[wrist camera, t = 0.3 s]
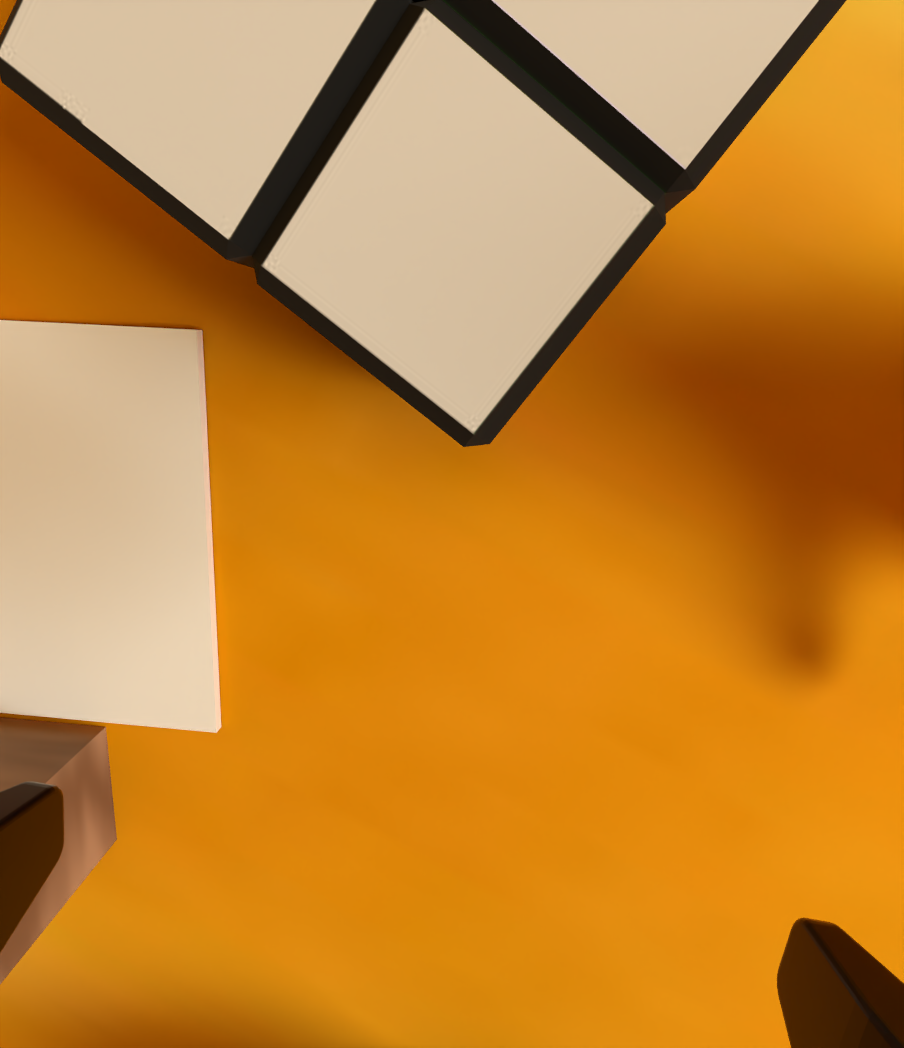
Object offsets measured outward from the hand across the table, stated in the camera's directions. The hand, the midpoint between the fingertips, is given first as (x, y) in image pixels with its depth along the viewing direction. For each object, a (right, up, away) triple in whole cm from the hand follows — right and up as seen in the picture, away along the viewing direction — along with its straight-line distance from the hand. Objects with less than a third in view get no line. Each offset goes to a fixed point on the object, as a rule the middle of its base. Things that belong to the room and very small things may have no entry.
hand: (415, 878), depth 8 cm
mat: (-16, +4, +15) cm, 22 cm away
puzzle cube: (+1, +15, +11) cm, 19 cm away
